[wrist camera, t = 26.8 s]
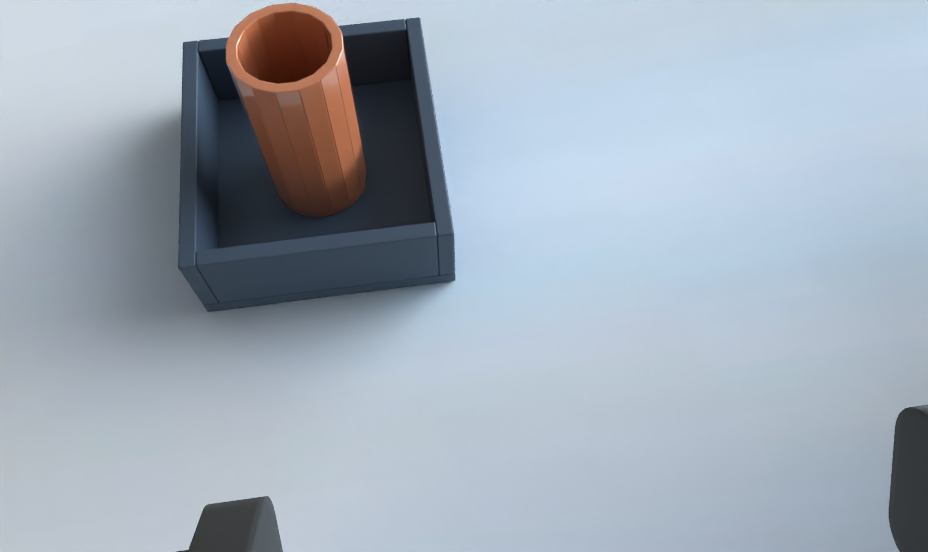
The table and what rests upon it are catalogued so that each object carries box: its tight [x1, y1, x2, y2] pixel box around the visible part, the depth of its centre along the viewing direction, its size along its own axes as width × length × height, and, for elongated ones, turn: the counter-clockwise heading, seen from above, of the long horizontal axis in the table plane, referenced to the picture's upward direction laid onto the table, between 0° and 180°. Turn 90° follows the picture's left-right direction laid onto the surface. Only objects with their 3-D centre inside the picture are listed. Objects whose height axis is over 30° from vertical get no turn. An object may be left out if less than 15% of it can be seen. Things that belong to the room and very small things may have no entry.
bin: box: [178, 18, 455, 311], centre depth 42 cm, size 13×14×5 cm
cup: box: [226, 3, 367, 217], centre depth 39 cm, size 5×5×10 cm
